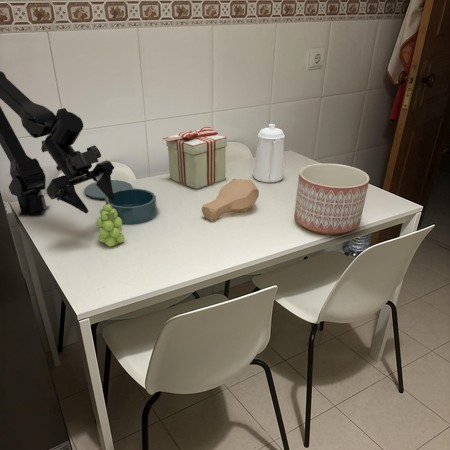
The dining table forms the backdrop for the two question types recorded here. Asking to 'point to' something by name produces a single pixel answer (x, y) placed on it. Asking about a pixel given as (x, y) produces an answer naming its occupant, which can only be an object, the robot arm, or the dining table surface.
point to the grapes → (110, 226)
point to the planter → (330, 198)
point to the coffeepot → (269, 155)
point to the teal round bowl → (134, 205)
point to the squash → (232, 199)
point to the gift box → (197, 157)
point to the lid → (95, 192)
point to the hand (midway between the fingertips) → (101, 206)
